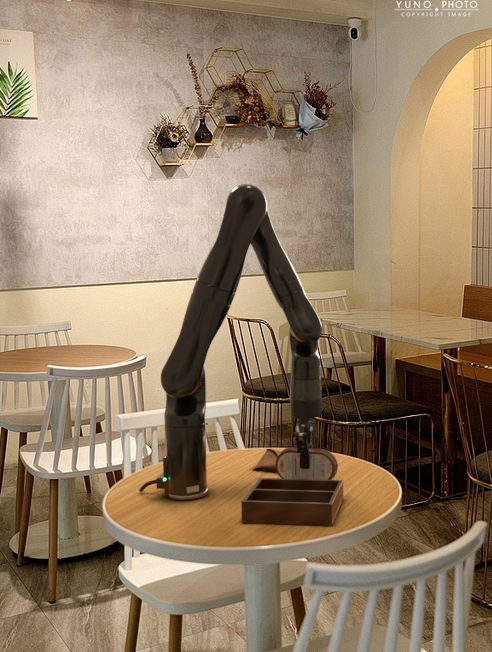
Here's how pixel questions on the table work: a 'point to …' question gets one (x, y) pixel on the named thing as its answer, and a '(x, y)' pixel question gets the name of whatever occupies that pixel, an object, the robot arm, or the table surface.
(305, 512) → the organizer
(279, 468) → the tin
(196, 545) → the table surface
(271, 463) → the sunglasses case
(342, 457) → the table surface
